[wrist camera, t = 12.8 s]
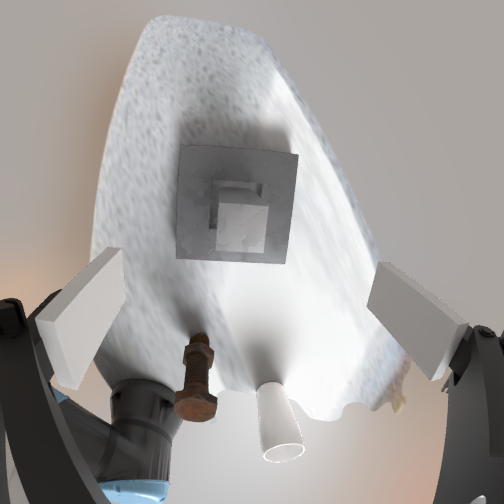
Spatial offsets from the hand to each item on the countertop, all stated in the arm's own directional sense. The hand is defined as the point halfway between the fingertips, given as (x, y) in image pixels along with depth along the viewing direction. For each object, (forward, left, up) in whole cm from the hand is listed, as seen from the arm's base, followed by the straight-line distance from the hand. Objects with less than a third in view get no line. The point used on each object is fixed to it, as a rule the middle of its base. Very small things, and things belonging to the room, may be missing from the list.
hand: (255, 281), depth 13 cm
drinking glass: (-34, -9, -25) cm, 43 cm away
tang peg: (0, 0, -24) cm, 24 cm away
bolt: (-22, +4, -25) cm, 33 cm away
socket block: (0, 0, -25) cm, 25 cm away
